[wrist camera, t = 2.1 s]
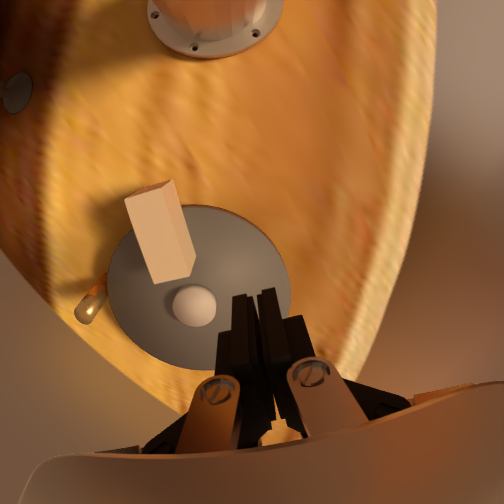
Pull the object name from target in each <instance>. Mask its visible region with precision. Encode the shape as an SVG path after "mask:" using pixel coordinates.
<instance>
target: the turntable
mask: <svg viewBox="0 0 504 504" xmlns="http://www.w3.org/2000/svg"><path fill="white" fill-rule="evenodd" d="M124 201H125V204H126V208H127V211H128V214H129V217H130V220H131V223H132V226H133V229H132V230H131V231H130V232H129V233H128V234H127V235H126V236H125V237H124V238H123V239H122V241H121V242H120V244H119V245H118V246H117V248H116V250H115V252H114V254H113V256H112V259H111V262H110V265H109V270H108V276H107V289H108V297H109V301H110V305H111V308H112V310H113V313H114V315H115V318H116V319H117V321H118V323H119V324H120V326H121V328H122V329H123V330H124V332H125V333H126V334H127V335H128V336H129V338H130V339H131V340H132V341H133V342H134V343H135V344H137V345H138V346H139V347H140V348H141V349H143V350H144V351H145V352H147V353H148V354H150V355H151V356H153V357H155V358H157V359H159V360H161V361H163V362H166V363H168V364H171V365H174V366H177V367H181V368H186V369H191V370H215V363H216V352H217V341H218V333H219V332H223V331H228V330H231V316H232V296H236V295H241V294H245V293H246V294H247V296H248V297H249V296H253V299H254V303H255V306H256V310H257V314H258V318H259V313H258V303H257V295H258V294H262V292H261V290H263V289H268V288H272V287H275V289H276V294H277V298H278V302H279V307H280V311H281V316H282V319H285V318H287V317H288V314H289V309H290V304H291V289H290V281H289V278H288V274H287V271H286V268H285V265H284V262H283V260H282V258H281V255H280V253H279V252H278V250H277V249H276V247H275V245H274V244H273V243H272V241H271V240H270V239H269V238H268V237H267V235H266V234H265V233H264V232H262V231H261V230H260V229H259V228H258V227H257V226H256V225H254V224H253V223H251V222H250V221H248V220H247V219H245V218H243V217H241V216H239V215H237V214H235V213H233V212H231V211H228V210H225V209H222V208H218V207H213V206H208V205H196V204H192V205H180V201H179V198H178V195H177V191H176V188H175V184H174V181H173V179H172V180H168V181H165V182H161V183H158V184H155V185H152V186H148V187H145V188H142V189H140V190H138V191H136V192H135V193H133V194H131V195H130V196H128V197H127V198H125V199H124Z"/></svg>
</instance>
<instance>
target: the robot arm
mask: <svg viewBox="0 0 504 504" xmlns="http://www.w3.org/2000/svg"><path fill="white" fill-rule="evenodd" d="M282 9H283V0H148V2H147V18H148V22H149V25H150V27H151V29H152V31H153V32H154V34H155V35H156V36H157V38H158V39H159V40H160V41H161V42H162V43H163V44H165V45H166V46H168V47H169V48H171V49H172V50H174V51H176V52H178V53H181V54H183V55H187V56H191V57H195V58H208V59H210V58H223V57H227V56H232V55H236V54H238V53H241V52H244V51H246V50H248V49H250V48H252V47H254V46H255V45H257V44H259V43H260V42H261V41H262V40H264V39H265V38H266V37H267V36H268V35H269V34H270V33H271V31H272V30H273V29H274V28H275V26H276V24H277V22H278V20H279V18H280V16H281V12H282ZM157 16H159V17H158V18H156V17H157ZM155 18H156V19H155ZM253 34H257V35H258V37H253V36H252V35H253ZM195 47H197V48H198V50H196V51H193V48H195ZM261 292H262V294H258V295H257V303H258V313H259V318H258V314H257V310H256V306H255V303H254V299H253V296H249V297H248V296H247V294H246V293H245V294H241V295H236V296H232V316H231V330H228V331H223V332H219V333H218V341H217V352H216V363H215V375H214V376H213V377H210V378H208V379H206V380H204V381H203V382H202V383H201V384H200V385H199V386H198V387H197V389H196V390H195V393H194V396H193V399H192V402H191V405H190V408H189V411H188V412H187V413H186V414H184V415H183V416H182V417H181V418H179V419H178V420H177V421H175V422H174V423H173V424H171V425H170V426H169V427H167V428H166V429H165V430H164V431H162V432H161V433H160V434H158V435H157V436H155V437H154V438H153V439H151V440H150V441H149V442H148V443H147V444H146V445H145V446H144V448H141V447H140V446H139V445H138V446H132V447H127V448H121V449H115V450H108V451H101V452H94V453H74V454H66V455H60V456H56V457H52V458H50V459H47V460H45V461H43V462H41V463H40V464H39V465H38V466H37V467H36V468H35V470H34V471H33V473H32V474H31V476H30V477H29V479H28V481H27V483H26V485H25V487H24V490H23V492H22V494H21V497H20V500H19V502H18V504H504V381H492V382H484V383H479V384H473V383H466V384H462V385H457V386H454V387H450V388H445V389H441V390H436V391H432V392H427V393H422V394H417V395H414V397H413V399H407V400H406V399H405V398H403V397H401V396H399V395H396V394H392V393H388V392H385V391H381V390H378V389H375V388H372V387H369V386H365V385H362V384H359V383H356V382H353V381H350V380H347V379H344V378H342V377H341V376H340V374H339V373H338V371H337V369H336V368H335V366H334V365H333V364H332V363H331V362H330V361H329V360H327V359H325V358H321V357H316V356H315V353H314V350H313V346H312V343H311V340H310V337H309V334H308V331H307V328H306V325H305V322H304V319H303V316H302V315H298V316H293V317H289V318H285V319H282V316H281V311H280V307H279V302H278V298H277V294H276V289H275V287H272V288H268V289H263V290H261ZM273 394H274V396H273ZM274 398H275V401H276V404H277V408H278V411H279V414H280V418H281V419H286V423H287V426H288V427H290V428H292V429H294V430H296V431H298V432H300V436H301V439H300V440H295V441H290V442H285V443H279V444H273V445H267V446H262V438H261V437H262V436H263V435H264V434H265V433H266V432H267V431H268V430H272V426H271V421H274V420H276V412H275V404H274Z"/></svg>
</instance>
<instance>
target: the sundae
mask: <svg viewBox="0 0 504 504" xmlns="http://www.w3.org/2000/svg"><path fill="white" fill-rule="evenodd" d="M31 92H32V80H31V78H30V76H29V75H28V74H27V73H24V72H21V73H17V74H16V75H14V76H13V77H12V78H11V79H10V81H9V82H8V84H7V86H6V87H4V86H3V80H2V77H1V76H0V98H1V97H3V104H4V107H5V109H6V110H7V112H9V113H11V114H16V113H18V112H20V111H21V110H22V109H24V107H25V106H26V105H27V103H28V101H29V99H30V96H31Z"/></svg>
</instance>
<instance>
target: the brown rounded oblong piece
mask: <svg viewBox="0 0 504 504" xmlns="http://www.w3.org/2000/svg"><path fill="white" fill-rule="evenodd" d="M107 276H108V273H105V274H103V275H102V276H101V277H100V278H99V280H98V281H97V282H96V283H95V284H94V286H93V287H92V288H91V289H90V291H89V292H88V293H87V294H86V295H85V297H84V298H83V299H82V300H81V302H80V303H79V304H78V306H77V307H76V308H75V310H74V315H75V317H76V319H77V320H78V321H79V322H81V323H82V324H90V323H91V322H92V320H93V319H94V317H95V316H96V314H97V313H98V311H99V310H100V309H101V307H102V306H103V304H104V303H105V301H106V300H107V298H108V289H107Z"/></svg>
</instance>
